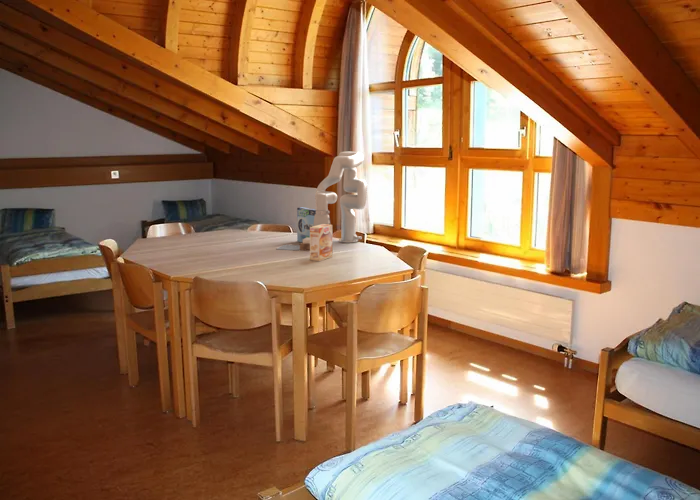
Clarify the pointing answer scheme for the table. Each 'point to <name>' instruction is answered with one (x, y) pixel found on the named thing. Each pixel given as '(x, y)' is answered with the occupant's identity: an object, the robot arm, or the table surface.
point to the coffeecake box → (320, 242)
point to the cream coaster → (306, 240)
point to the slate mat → (289, 247)
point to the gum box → (304, 222)
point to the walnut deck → (305, 246)
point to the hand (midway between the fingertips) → (321, 241)
